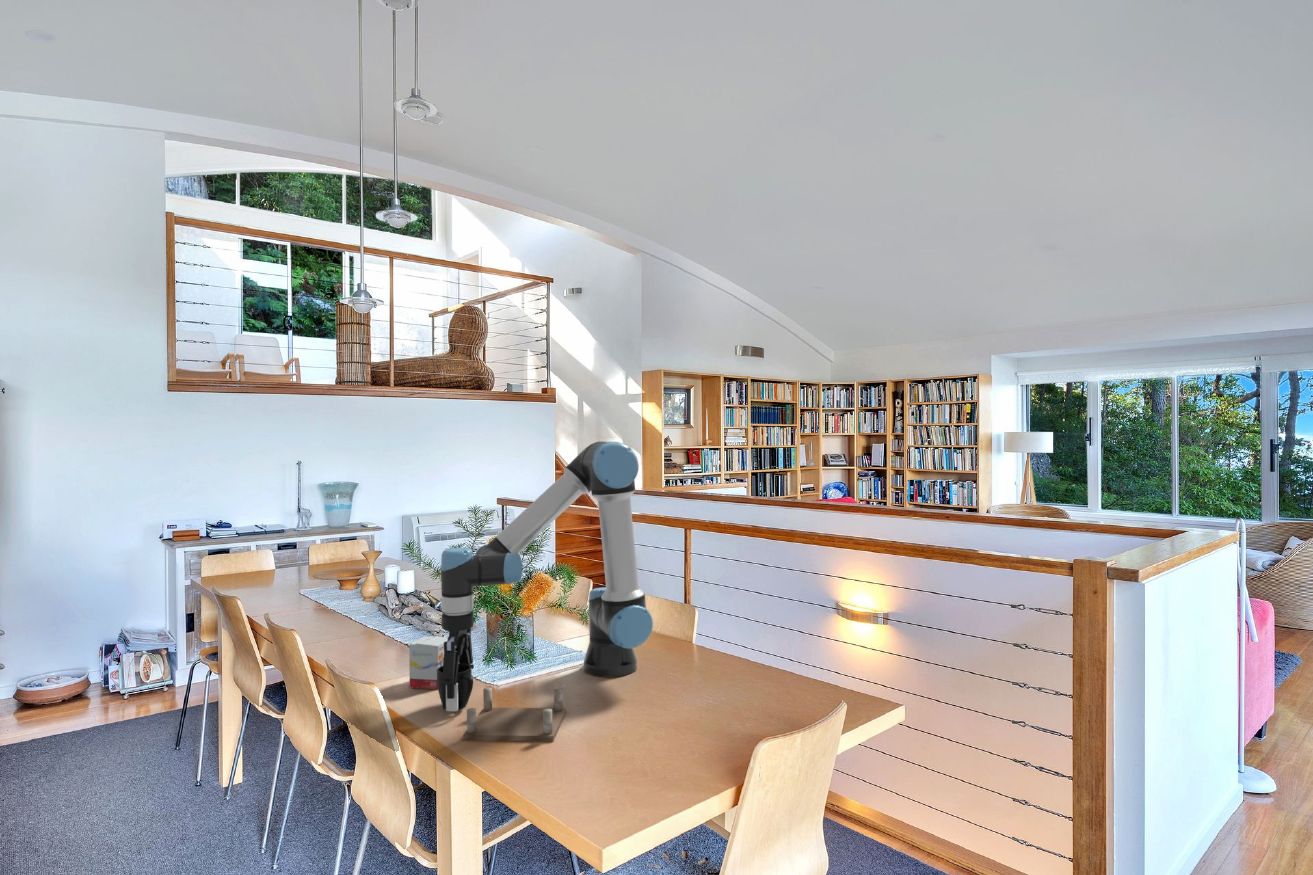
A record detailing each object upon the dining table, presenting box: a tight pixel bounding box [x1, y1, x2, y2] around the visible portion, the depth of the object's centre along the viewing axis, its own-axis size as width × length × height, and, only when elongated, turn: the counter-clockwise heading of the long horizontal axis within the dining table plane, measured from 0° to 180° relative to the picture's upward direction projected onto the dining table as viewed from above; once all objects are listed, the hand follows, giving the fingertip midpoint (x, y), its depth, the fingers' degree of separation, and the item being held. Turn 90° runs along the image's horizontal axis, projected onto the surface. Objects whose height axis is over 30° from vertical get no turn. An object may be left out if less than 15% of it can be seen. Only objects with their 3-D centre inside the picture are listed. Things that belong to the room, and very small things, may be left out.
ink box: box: [408, 635, 448, 690], centre depth 198 cm, size 9×9×12 cm
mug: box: [437, 663, 474, 711], centre depth 180 cm, size 8×12×10 cm
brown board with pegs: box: [462, 687, 567, 742], centre depth 169 cm, size 20×16×6 cm
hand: (458, 702), depth 181 cm, fingers closed on mug, 9 cm apart
